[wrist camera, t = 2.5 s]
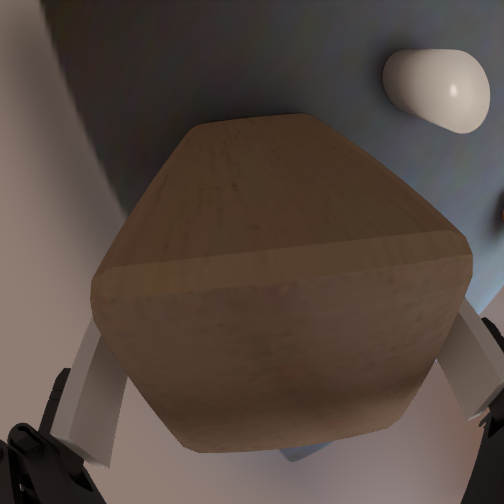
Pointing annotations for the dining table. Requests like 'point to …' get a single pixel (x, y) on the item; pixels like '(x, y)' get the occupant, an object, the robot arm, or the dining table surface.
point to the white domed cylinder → (438, 87)
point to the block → (278, 288)
